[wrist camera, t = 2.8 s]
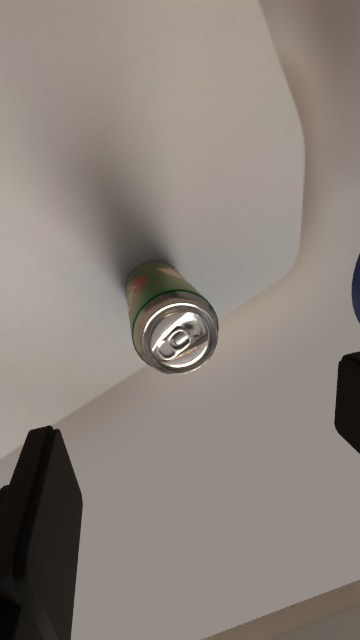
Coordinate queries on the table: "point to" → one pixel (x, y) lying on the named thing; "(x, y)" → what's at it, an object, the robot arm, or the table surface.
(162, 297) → the soda can
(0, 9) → the table surface
